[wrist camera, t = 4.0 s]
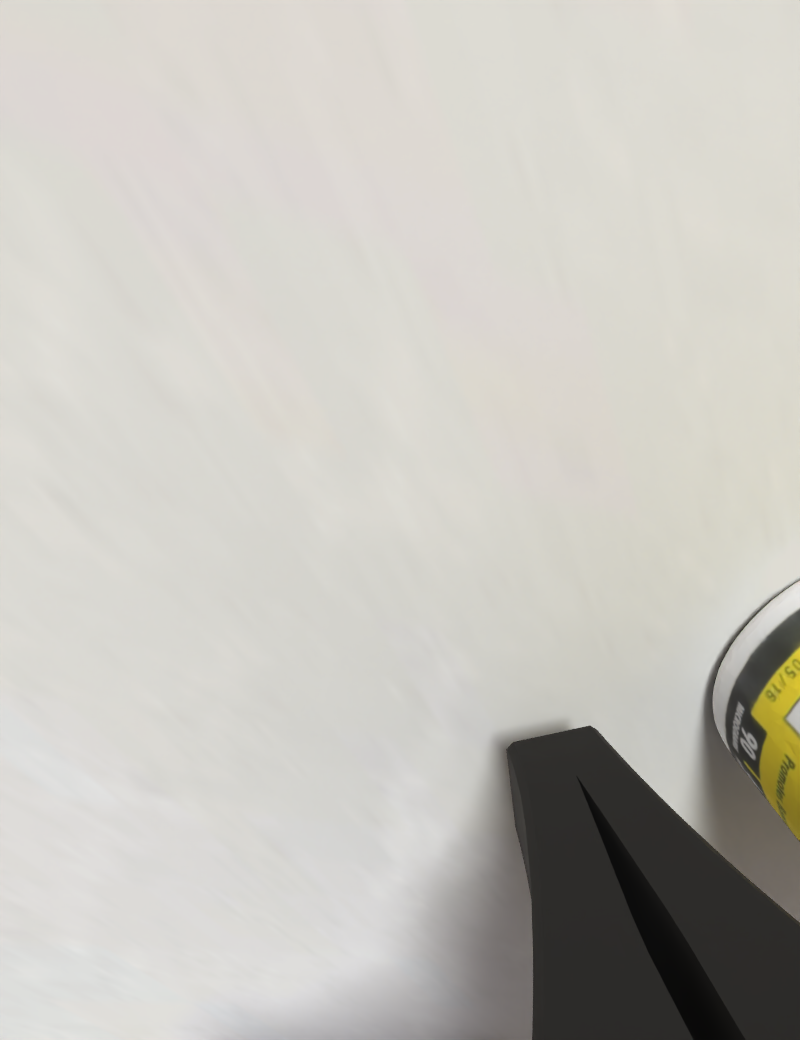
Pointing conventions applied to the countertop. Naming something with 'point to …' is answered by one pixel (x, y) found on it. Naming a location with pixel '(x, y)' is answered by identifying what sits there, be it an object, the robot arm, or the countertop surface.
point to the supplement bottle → (765, 703)
